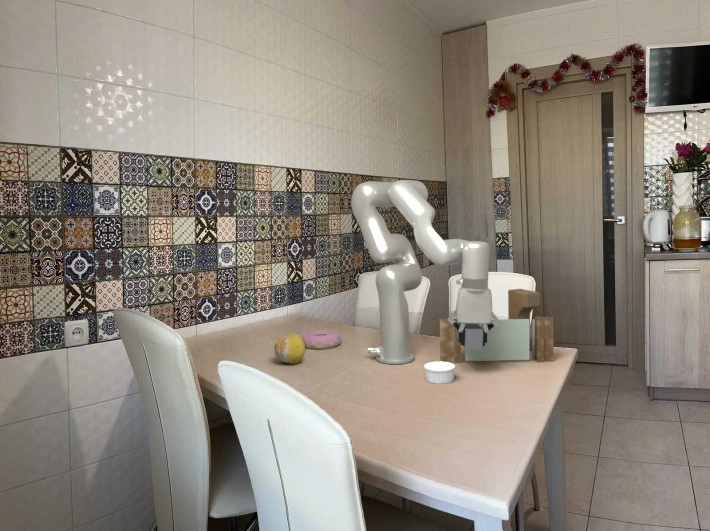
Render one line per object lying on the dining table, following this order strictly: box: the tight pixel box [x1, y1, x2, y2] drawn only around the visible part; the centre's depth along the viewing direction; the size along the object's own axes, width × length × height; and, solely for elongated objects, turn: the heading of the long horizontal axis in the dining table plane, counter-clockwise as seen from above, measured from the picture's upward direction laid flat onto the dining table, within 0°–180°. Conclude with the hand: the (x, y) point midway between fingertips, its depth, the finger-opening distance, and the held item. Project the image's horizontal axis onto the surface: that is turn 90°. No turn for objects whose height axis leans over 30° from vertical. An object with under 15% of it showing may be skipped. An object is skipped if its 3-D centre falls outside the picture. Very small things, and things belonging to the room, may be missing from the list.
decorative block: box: [507, 288, 541, 352], centre depth 182 cm, size 11×6×20 cm, turn 17°
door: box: [464, 318, 536, 362], centre depth 165 cm, size 22×3×13 cm, turn 85°
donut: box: [300, 329, 343, 350], centre depth 196 cm, size 16×15×5 cm
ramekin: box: [423, 360, 456, 385], centre depth 150 cm, size 9×9×4 cm
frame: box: [439, 316, 554, 364], centre depth 166 cm, size 35×2×14 cm, turn 85°
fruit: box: [274, 333, 306, 365], centre depth 173 cm, size 10×11×10 cm
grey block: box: [456, 321, 483, 350], centre depth 157 cm, size 5×13×6 cm, turn 1°
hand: (472, 344), depth 153 cm, fingers closed on grey block, 5 cm apart
